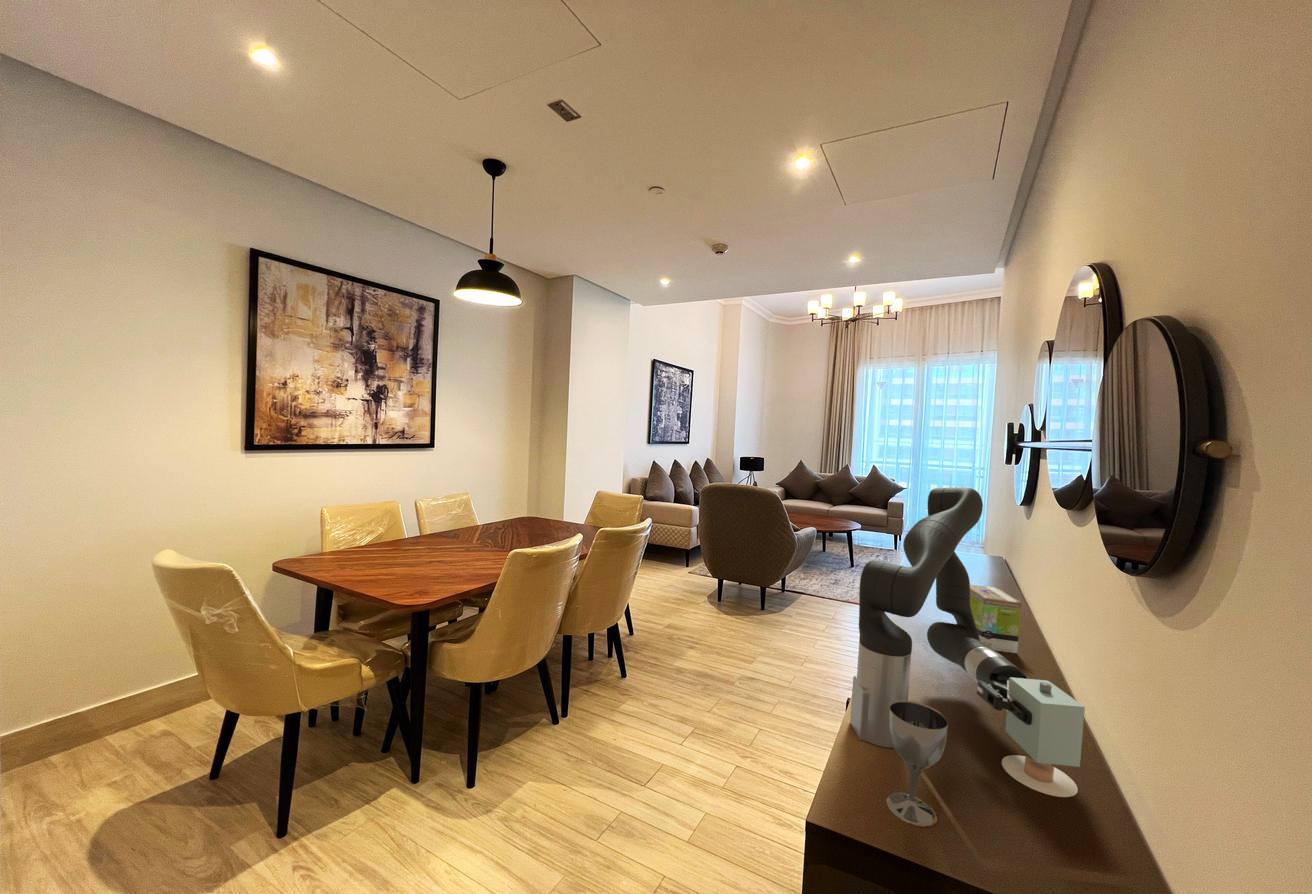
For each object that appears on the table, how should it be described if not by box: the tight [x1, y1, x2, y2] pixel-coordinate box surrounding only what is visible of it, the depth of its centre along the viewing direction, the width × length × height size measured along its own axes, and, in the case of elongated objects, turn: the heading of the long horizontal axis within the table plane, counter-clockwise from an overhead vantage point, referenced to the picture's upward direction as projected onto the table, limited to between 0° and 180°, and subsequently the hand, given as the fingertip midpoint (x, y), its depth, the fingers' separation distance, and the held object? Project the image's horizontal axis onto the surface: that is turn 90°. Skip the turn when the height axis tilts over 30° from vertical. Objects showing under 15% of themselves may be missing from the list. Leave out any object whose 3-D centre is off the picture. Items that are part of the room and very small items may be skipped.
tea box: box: [970, 584, 1022, 654], centre depth 148 cm, size 15×10×15 cm, turn 168°
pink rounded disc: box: [1024, 755, 1055, 783], centre depth 86 cm, size 4×4×2 cm
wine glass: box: [885, 700, 949, 825], centre depth 77 cm, size 8×8×15 cm
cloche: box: [1004, 677, 1086, 768], centre depth 86 cm, size 7×9×11 cm
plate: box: [1001, 754, 1079, 798], centre depth 86 cm, size 10×10×1 cm
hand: (1052, 721), depth 84 cm, fingers closed on cloche, 6 cm apart
